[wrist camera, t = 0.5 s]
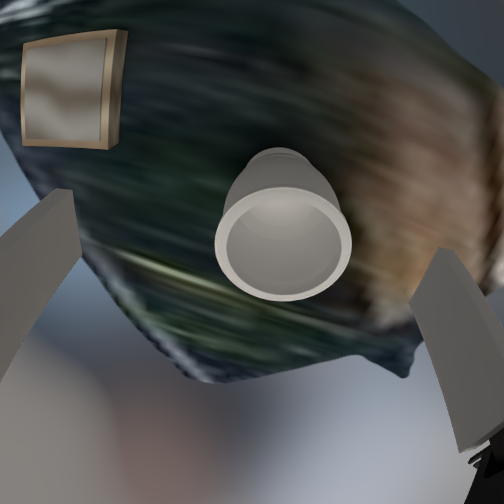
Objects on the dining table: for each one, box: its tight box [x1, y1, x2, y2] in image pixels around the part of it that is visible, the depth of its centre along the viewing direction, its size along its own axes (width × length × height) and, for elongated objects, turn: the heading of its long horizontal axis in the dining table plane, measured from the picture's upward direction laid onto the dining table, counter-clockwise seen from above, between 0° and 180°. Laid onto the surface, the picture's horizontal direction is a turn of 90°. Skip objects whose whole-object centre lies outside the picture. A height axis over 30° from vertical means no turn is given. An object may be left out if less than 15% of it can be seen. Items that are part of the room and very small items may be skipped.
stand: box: [21, 29, 128, 149], centre depth 28 cm, size 14×14×3 cm
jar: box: [215, 147, 352, 301], centre depth 30 cm, size 11×10×15 cm
